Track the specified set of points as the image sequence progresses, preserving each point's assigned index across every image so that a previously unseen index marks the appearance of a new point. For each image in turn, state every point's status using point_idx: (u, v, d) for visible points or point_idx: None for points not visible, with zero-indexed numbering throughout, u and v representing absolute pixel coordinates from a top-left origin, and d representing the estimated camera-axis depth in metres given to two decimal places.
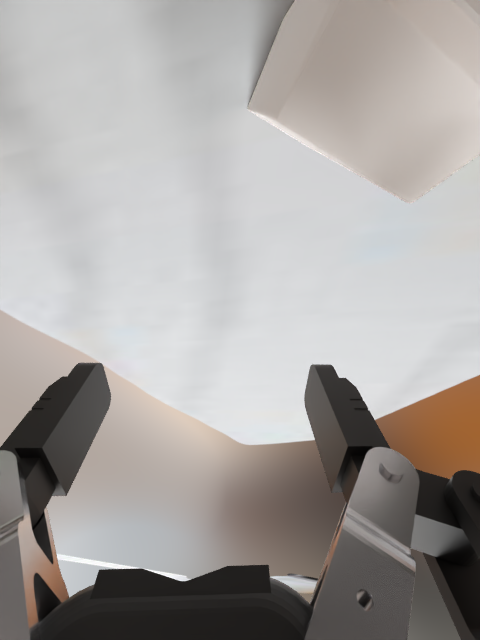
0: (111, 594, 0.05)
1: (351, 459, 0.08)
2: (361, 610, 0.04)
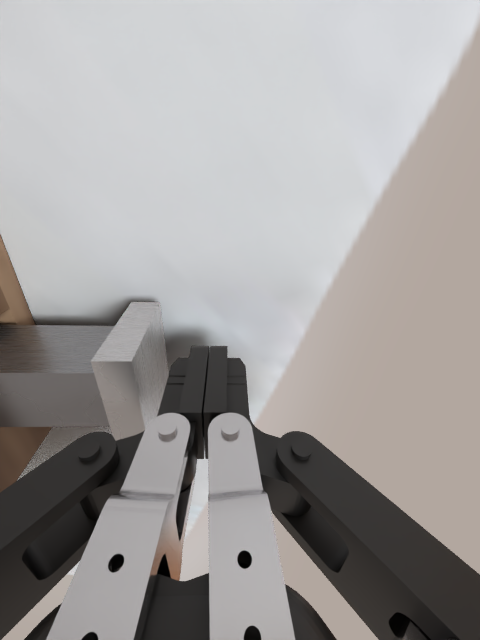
0: None
1: None
2: (245, 571, 0.05)
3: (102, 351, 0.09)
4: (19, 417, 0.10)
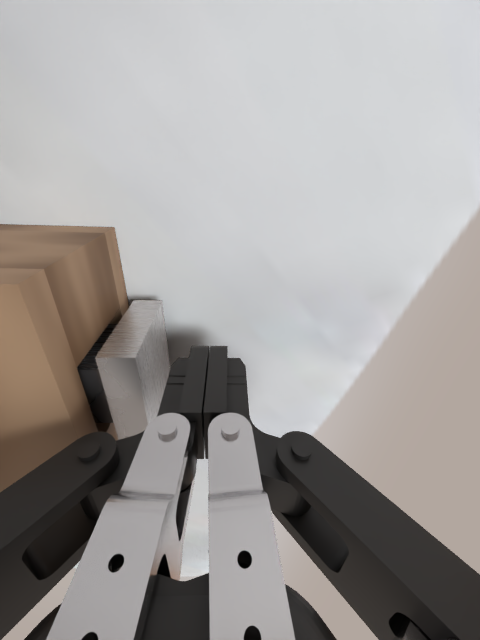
0: None
1: None
2: (245, 570, 0.05)
3: (106, 348, 0.09)
4: None
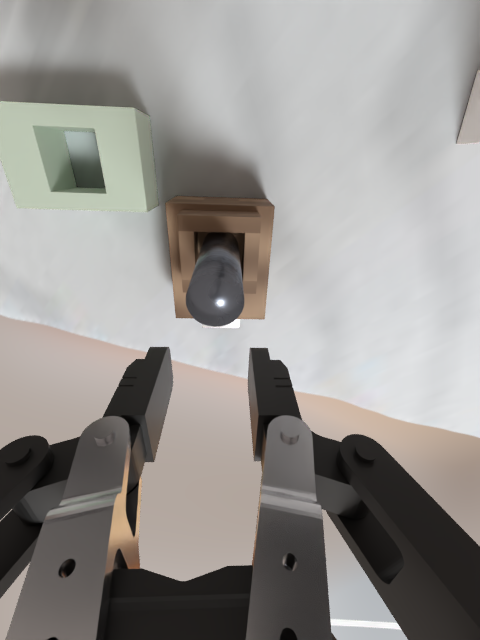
0: (111, 594, 0.05)
1: (264, 428, 0.08)
2: (289, 573, 0.05)
3: None
4: None
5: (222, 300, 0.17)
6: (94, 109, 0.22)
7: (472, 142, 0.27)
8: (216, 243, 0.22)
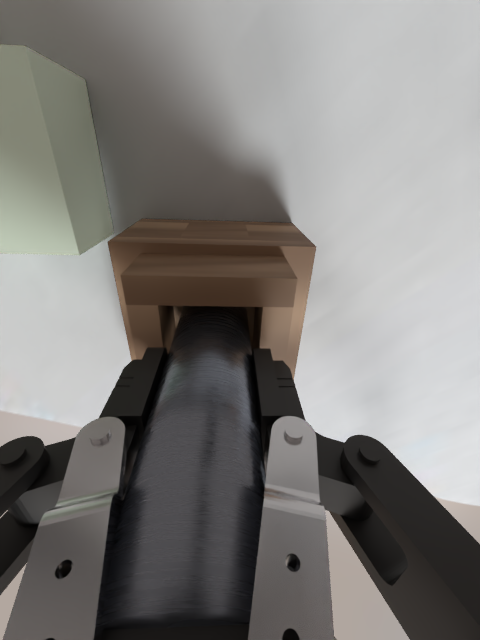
0: None
1: (268, 428, 0.08)
2: (292, 573, 0.05)
3: None
4: None
5: None
6: None
7: None
8: (202, 343, 0.10)
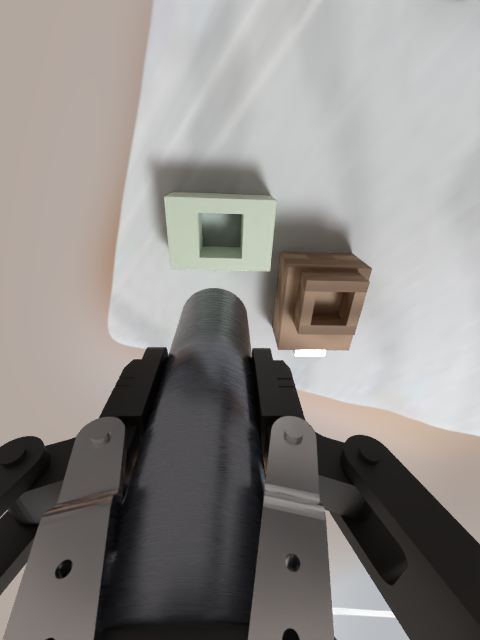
0: None
1: (268, 428, 0.08)
2: (292, 573, 0.05)
3: None
4: None
5: None
6: (246, 201, 0.30)
7: None
8: (202, 345, 0.10)
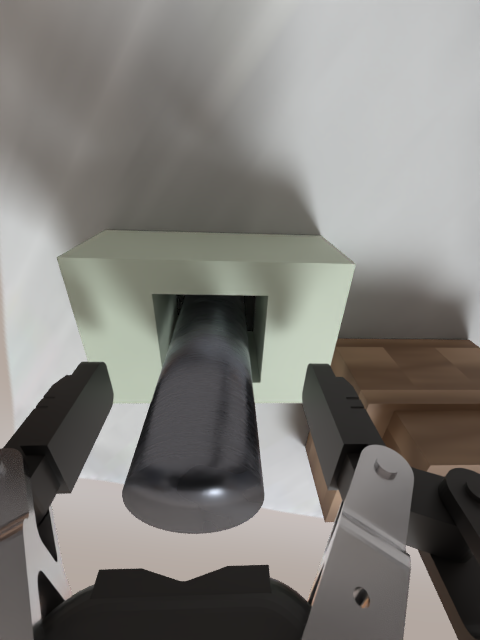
0: (111, 594, 0.05)
1: (346, 457, 0.08)
2: (358, 608, 0.04)
3: None
4: None
5: (211, 497, 0.07)
6: (278, 268, 0.11)
7: None
8: (205, 312, 0.12)
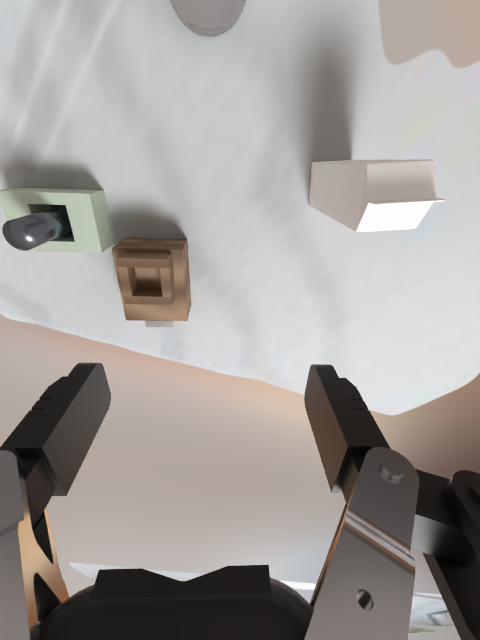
0: (111, 594, 0.05)
1: (351, 459, 0.08)
2: (361, 610, 0.04)
3: None
4: None
5: (22, 234, 0.33)
6: (65, 194, 0.37)
7: (312, 206, 0.42)
8: (45, 210, 0.38)
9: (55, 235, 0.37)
